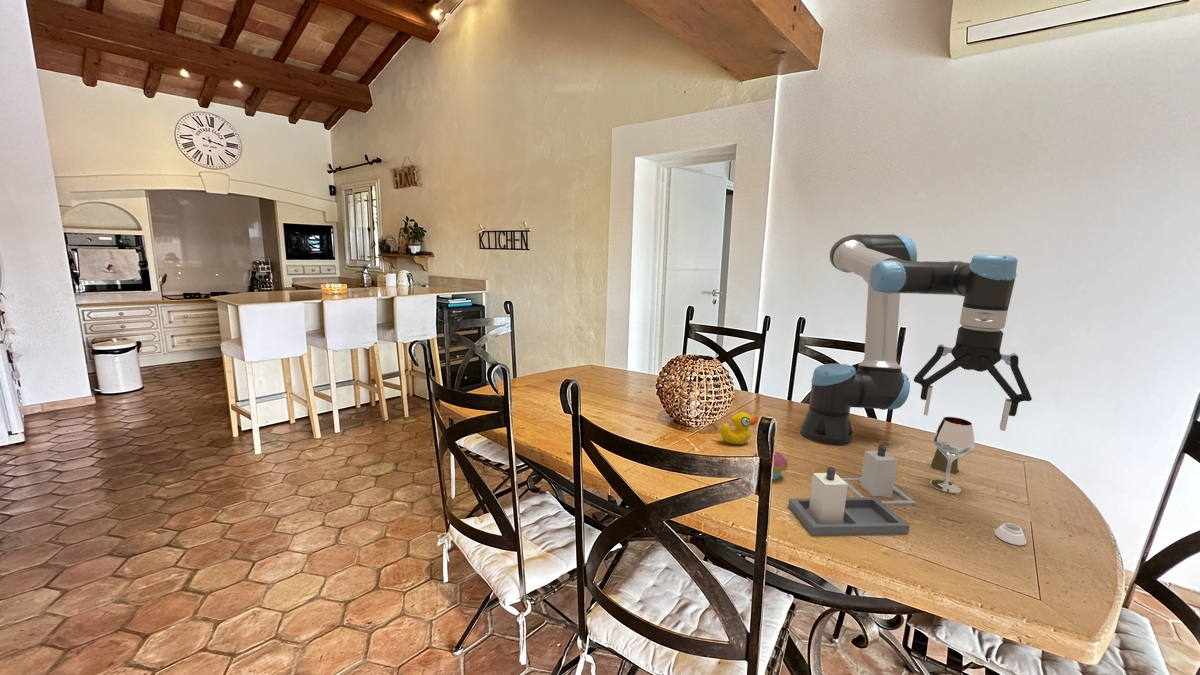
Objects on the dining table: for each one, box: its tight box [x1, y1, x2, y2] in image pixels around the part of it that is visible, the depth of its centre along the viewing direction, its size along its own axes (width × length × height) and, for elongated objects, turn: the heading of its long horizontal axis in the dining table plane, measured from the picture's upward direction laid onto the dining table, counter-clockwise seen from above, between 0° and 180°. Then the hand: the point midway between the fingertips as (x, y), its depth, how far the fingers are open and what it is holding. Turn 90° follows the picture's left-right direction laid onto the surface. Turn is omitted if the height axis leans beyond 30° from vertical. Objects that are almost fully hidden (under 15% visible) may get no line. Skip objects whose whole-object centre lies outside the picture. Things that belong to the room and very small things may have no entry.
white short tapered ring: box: [994, 522, 1027, 546], centre depth 97 cm, size 5×3×5 cm
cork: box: [930, 447, 959, 474], centre depth 127 cm, size 6×6×11 cm
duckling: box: [720, 411, 759, 445], centre depth 141 cm, size 11×5×10 cm, turn 93°
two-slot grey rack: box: [788, 496, 910, 537], centre depth 102 cm, size 11×21×2 cm, turn 93°
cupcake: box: [753, 450, 788, 481], centre depth 120 cm, size 9×8×12 cm
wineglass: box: [929, 416, 976, 494], centre depth 116 cm, size 8×8×18 cm
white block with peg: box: [859, 444, 899, 499], centre depth 114 cm, size 5×5×12 cm
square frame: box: [840, 477, 917, 506], centre depth 115 cm, size 12×12×1 cm
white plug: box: [808, 466, 849, 524], centre depth 101 cm, size 5×5×12 cm
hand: (962, 421), depth 103 cm, fingers open, 13 cm apart
